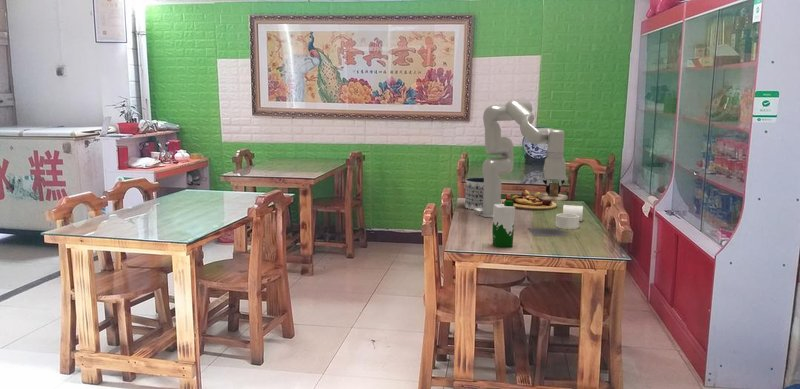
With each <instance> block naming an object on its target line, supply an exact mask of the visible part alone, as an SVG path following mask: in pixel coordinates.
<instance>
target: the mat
mask: <svg viewBox="0 0 800 389" xmlns="http://www.w3.org/2000/svg"><path fill="white" fill-rule="evenodd" d="M527 229H528V230H529V232H530V233H531V234H532V235H533V236H534V237H569V235H568V234H567V233H565V231H563V230H562V228H550V227H549V228H546V227H545V228H542V227H541V228H540V227H539V228H536V227H534V228H533V227H529V228H527Z"/></svg>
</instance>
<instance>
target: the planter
mask: <svg viewBox="0 0 800 389" xmlns="http://www.w3.org/2000/svg"><path fill="white" fill-rule="evenodd" d="M464 193H465V194H464V208H465V209H467V208H468V209H467V210H471V209H473V210H472V211H474V208H482V206H483V194H484V177H470V178H469V177H468V178H466V179H465V192H464Z"/></svg>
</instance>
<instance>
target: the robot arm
mask: <svg viewBox="0 0 800 389" xmlns="http://www.w3.org/2000/svg"><path fill="white" fill-rule="evenodd" d="M532 112H533V105H532V103H531V102H530V101H529V100H526V99H512V100H509V101H507V102H506V104H493V105H489V106H488V107H486V108H485V109H484V111H483V115H482V120H483V126H484V150H485V152H486V154H487V155H489V156H496V157H490V158H489V157H488V158H486V159H485V160H484V161H483V162H482V168H481V169H482V174H483V178H484V194H483V206H482V208H474V210H473V212H477V213H479V216H481V217H484V218H489V219H490V218H492V219H493V207H494V204H502V180H501V178H500V176H502V175H503V176H504V175H509V174H511V173H512V171H513V170H514V164H515V162H514V144H513V141H512V140H511V139H510V137H507V136H502V129H501V126H500V124H499V122H510V121H515V122H516V124H518V125H519V129H520V133H521V135H522V136H523V138H525V139H526V141H528V142H529V143H531V144H533V145H543V144H544V145H546V144H547V150H546V152H544V154H543V156H545V157H546V158H545V159H544V163H543V170H542V173H541V175H540V176H539V178H538V179H539V181H541V182H543V184H545V192H546V193H547V194H549V192H550V186H549V183H551V180H552V181H557V184H559V186H558V194H560V193H561V187H562V185H564V184H565V182H567V181H569V177H568V175H567V168H566V167H567V166H566V159H565V158H564V150H565V149H564V148H565V147H564V146H565V135H566V134H565V131H564V130H562V129H554V128H550V127H541V128H539V127H538V128H537V127H534V125H532V124H533V123H534V121H535V114H534V113H532ZM497 156H500V157H497Z"/></svg>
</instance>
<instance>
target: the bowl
mask: <svg viewBox="0 0 800 389" xmlns="http://www.w3.org/2000/svg"><path fill="white" fill-rule="evenodd" d="M579 217H580V216H578V215H575V214H569V213H563V212H561V213H557V214H555V227H556V228H557V229H563V230H564V229H565V230H575V229H579V228H580V227H579V226H580V221H579Z"/></svg>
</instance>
